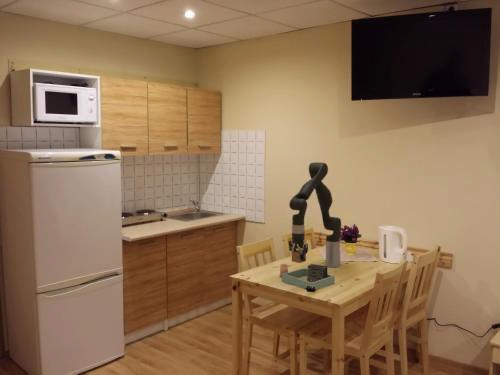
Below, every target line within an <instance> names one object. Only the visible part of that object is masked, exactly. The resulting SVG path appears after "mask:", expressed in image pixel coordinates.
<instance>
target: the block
mask: <svg viewBox="0 0 500 375" xmlns="http://www.w3.org/2000/svg"><path fill="white" fill-rule="evenodd" d="M306 261H307V254H305V255H304V260H303V261H301V253H300V251H299V249H296V250H295V251H292V252H291V262H293V263H297V264H301V263H304V262H306Z"/></svg>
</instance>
